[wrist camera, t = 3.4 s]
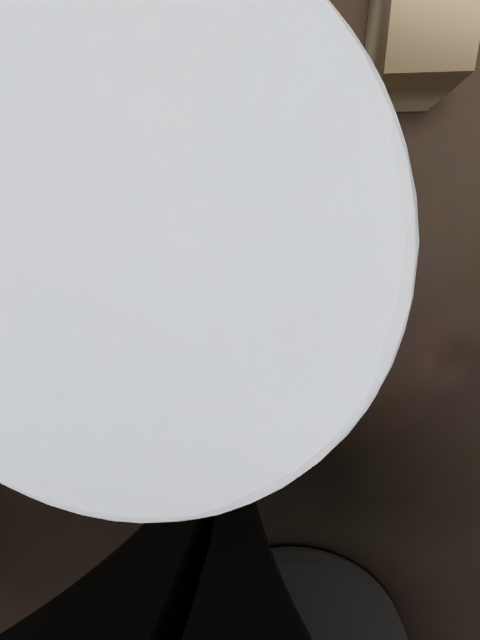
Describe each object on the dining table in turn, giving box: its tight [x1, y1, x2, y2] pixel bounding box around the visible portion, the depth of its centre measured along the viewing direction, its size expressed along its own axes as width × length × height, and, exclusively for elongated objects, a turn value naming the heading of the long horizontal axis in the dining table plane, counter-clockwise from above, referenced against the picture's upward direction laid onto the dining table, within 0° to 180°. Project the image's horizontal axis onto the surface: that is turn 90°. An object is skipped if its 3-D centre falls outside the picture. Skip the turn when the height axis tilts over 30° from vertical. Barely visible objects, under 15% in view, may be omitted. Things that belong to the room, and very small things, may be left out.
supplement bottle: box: [0, 0, 419, 523], centre depth 7 cm, size 5×5×10 cm
